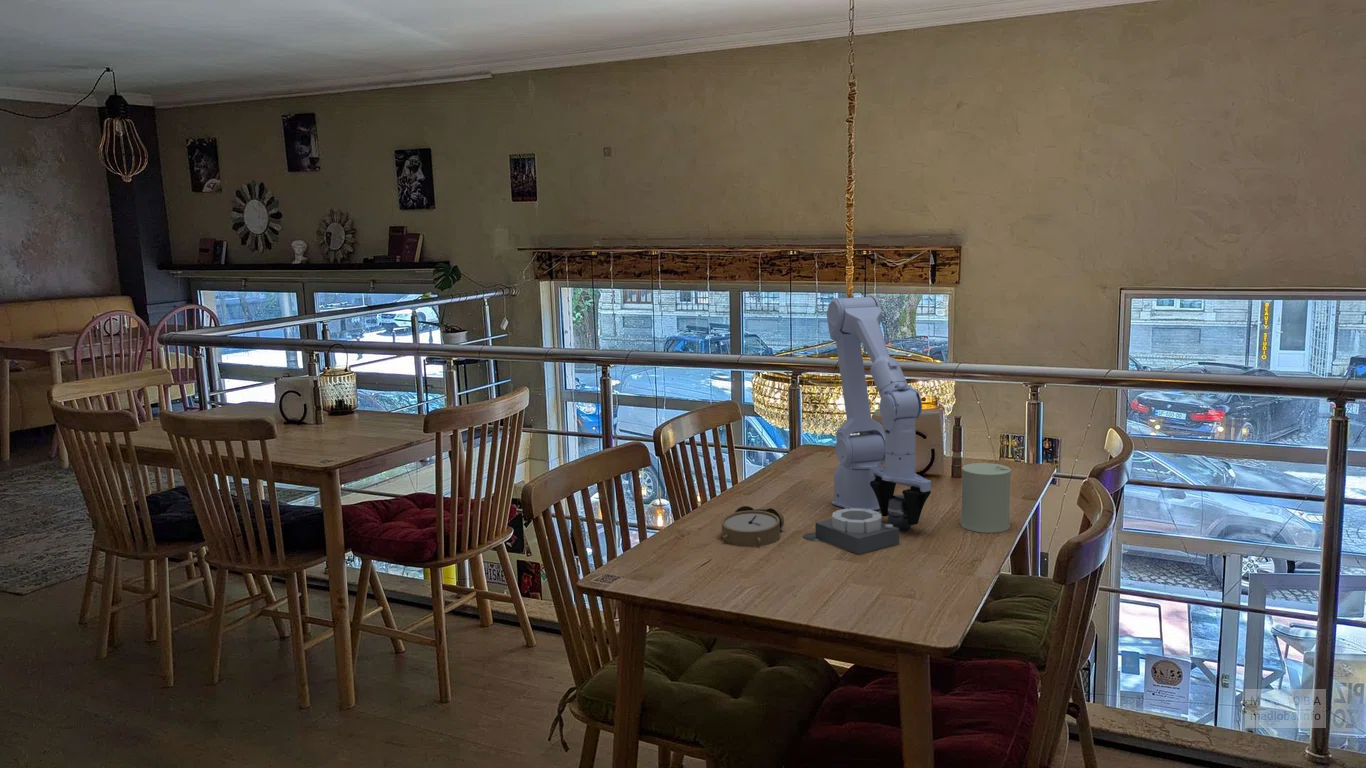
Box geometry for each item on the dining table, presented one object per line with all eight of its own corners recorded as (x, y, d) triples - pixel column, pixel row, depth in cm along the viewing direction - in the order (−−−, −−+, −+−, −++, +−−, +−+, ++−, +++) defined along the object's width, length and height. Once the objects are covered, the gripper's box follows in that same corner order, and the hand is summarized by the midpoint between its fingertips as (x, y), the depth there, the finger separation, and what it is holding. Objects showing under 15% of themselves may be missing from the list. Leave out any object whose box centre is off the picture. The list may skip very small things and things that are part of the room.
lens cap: (797, 539, 186) (797, 535, 186) (818, 534, 189) (818, 530, 189) (814, 546, 182) (814, 542, 182) (835, 541, 185) (835, 537, 185)
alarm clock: (712, 529, 183) (737, 495, 196) (714, 553, 184) (739, 517, 197) (769, 535, 179) (791, 499, 192) (771, 559, 180) (792, 522, 193)
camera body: (815, 537, 185) (815, 512, 184) (855, 528, 190) (855, 503, 189) (858, 554, 175) (858, 527, 174) (899, 543, 180) (899, 517, 179)
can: (1012, 534, 184) (1014, 472, 182) (962, 532, 186) (963, 471, 184) (1006, 519, 193) (1008, 460, 191) (958, 518, 195) (959, 459, 193)
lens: (882, 527, 190) (882, 496, 189) (899, 522, 193) (899, 493, 192) (899, 533, 186) (899, 502, 185) (916, 528, 189) (916, 498, 188)
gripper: (858, 448, 191) (858, 514, 193) (912, 461, 179) (911, 532, 181) (885, 443, 195) (884, 508, 197) (939, 456, 182) (938, 525, 185)
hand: (899, 519), depth 189 cm, fingers open, 7 cm apart
